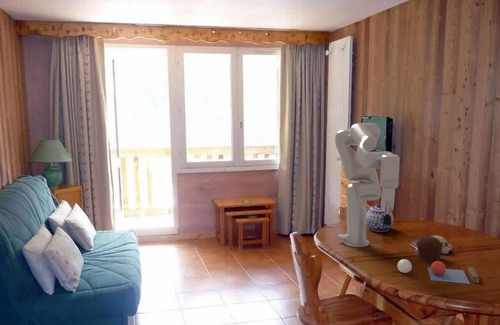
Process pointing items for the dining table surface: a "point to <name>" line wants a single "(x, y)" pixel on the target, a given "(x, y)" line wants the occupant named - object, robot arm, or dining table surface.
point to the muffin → (429, 248)
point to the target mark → (449, 276)
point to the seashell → (445, 244)
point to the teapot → (377, 219)
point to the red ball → (438, 268)
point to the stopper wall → (473, 275)
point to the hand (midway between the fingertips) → (386, 224)
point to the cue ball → (404, 266)
